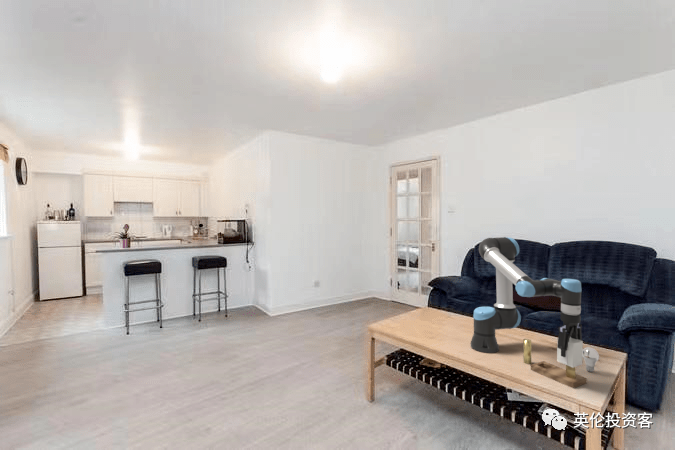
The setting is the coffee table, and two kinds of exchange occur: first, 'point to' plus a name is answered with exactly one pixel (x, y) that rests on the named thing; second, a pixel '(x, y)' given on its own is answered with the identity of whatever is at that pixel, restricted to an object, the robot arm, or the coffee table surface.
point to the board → (559, 374)
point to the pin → (527, 351)
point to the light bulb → (590, 358)
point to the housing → (572, 352)
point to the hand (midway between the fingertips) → (569, 361)
